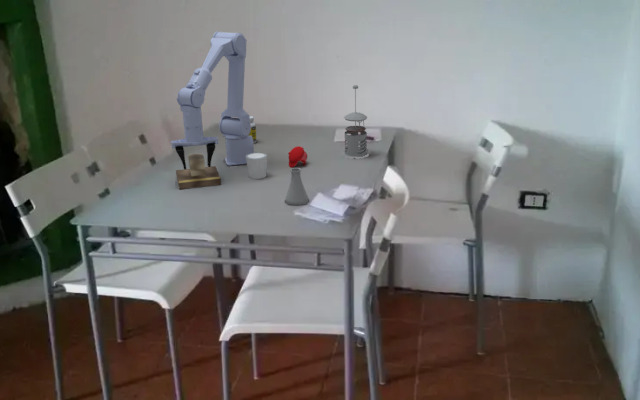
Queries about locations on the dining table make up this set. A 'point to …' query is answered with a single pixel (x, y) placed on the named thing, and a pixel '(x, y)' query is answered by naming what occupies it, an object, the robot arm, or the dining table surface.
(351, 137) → the french press
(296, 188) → the flask
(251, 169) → the shot glass
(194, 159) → the beige block
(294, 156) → the cap
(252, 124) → the supplement bottle
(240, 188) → the dining table surface
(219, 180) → the dock
